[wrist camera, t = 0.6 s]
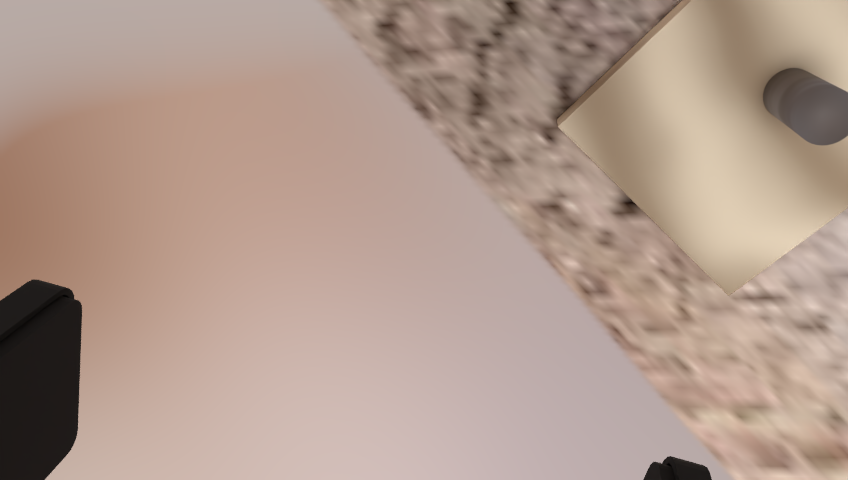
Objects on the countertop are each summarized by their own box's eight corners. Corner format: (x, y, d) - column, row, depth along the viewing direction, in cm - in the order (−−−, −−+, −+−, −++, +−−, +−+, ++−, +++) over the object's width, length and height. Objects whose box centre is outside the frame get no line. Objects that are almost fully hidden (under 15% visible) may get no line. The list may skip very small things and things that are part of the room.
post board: (852, -163, 29) (925, -184, 24) (1030, 50, 31) (1134, 75, 26) (556, 119, 35) (560, 153, 30) (721, 282, 37) (753, 342, 32)
